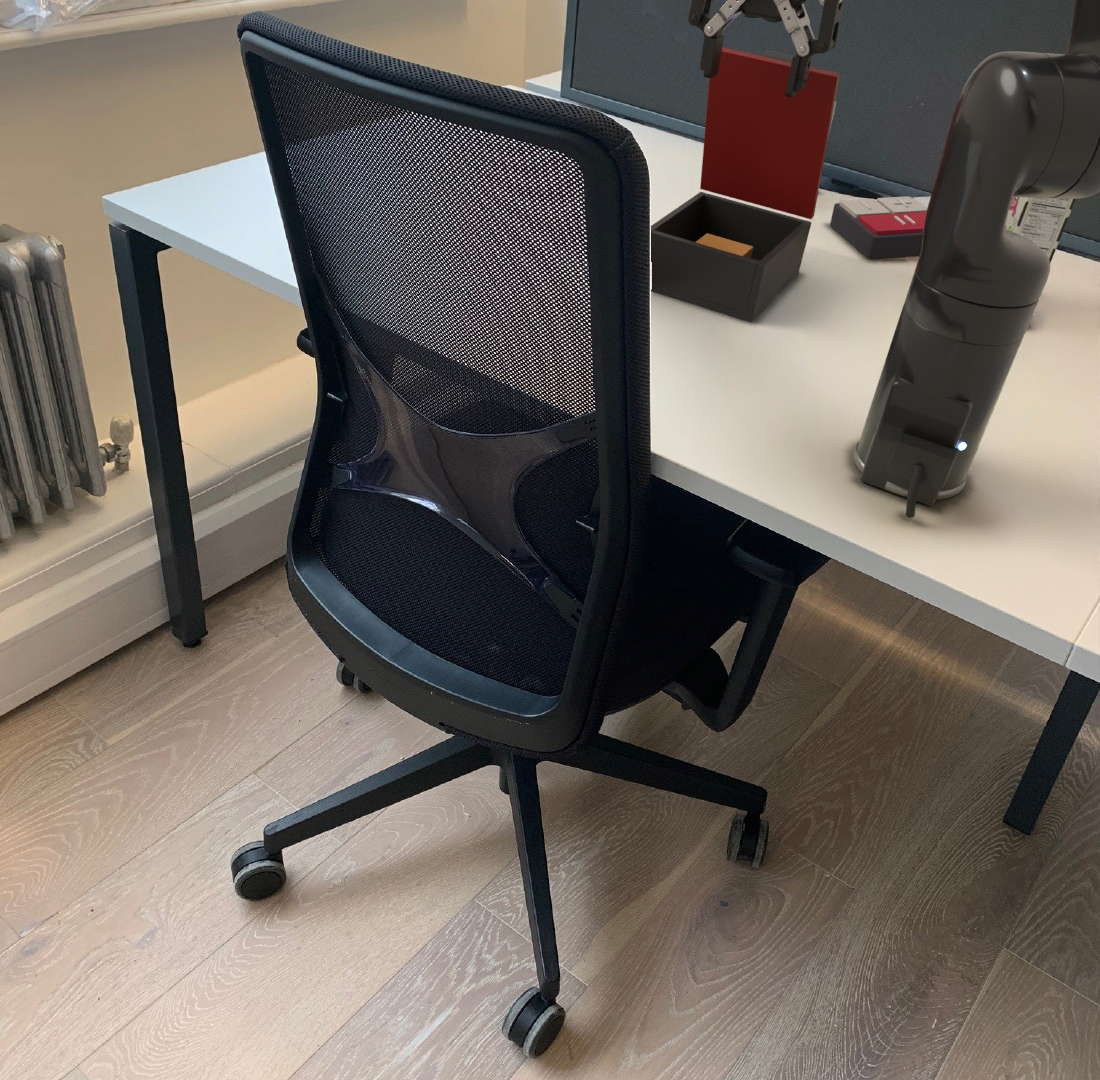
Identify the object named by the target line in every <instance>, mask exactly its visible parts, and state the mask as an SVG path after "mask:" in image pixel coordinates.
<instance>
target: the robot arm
mask: <svg viewBox="0 0 1100 1080" xmlns="http://www.w3.org/2000/svg"><path fill="white" fill-rule="evenodd" d="M806 1H807V0H726V2H725V3H724V4H722V5H721V7H720V8H719V9H718V11H717V12H716V14H715V15H712V14H711V9H712V6H713V0H691V2H690V3H691V4H690V8H689V13H688V18H687V19H688V23H689V25H690V26H692V27H696V28H698V29H699V30H701V31H702V33H703V37H704V38H703V44H702V50H701V55H700V56H701V57H700V61H699V65H700V70H701V71H703V77H704V78H706V79H709V78H710V79H711V78H713V77H715V76H717V74H718V70H719V64H720V59H721V53H722V48H724V41H725V35H723V32H724V31H725V30H726V29H727V27H729V26H730V24H731V23H732V22H734V20H735V19H736V18H738V17H739V16H740V15H741V14H743V15H744V17H745V18H750V19H758V18H761V19H763V20H765V21H766V22H769V23H774V24H776V23H779V22H780V23H781V22H782V23H783V25H784V28H785V30H786V32H787V34H788V35H789V36H790V38H791V40H792V43H793V45H794V49H795V51H796V54H794V55H792V56H793V59H792V63H791V68H790V73H789V77H788V82H787V86H786V91H785V96H787V97H792V98H793V97H794V96H796V95H797V94H798V92H800V91H802V90H803V89H804V87H805V86H806V84H807V79H808V75H809V70H810V66H811V62H812V63H813V58H814V56H815V55H817V54H826V53H827V52H829V51H832V50H833V49H834V48H835V47H836V46H837V43H838V38H839V32H840V28H841V22H842V17H843V11H844V5H845V0H818V3H819V5H820V6H822V11H821V18H820V24H819V30H818V35H817V37H815V35H814V32H813V30H812V27H811V20H810V17H809V15H808V12H807V9H806V6H805V4H804V3H805V2H806ZM945 137H946V138H945V141H944V145H943V149H942V153H941V157H940V160H939V165H938V168H937V172H936V176H935V180H934V184H933V187H932V191H931V194H930V196H929V197H930V201H929V204H928V208H927V212H926V216H925V221H924V229H923V239H922V247H921V252H920V256H919V257H918V259H917V262H916V265H915V269H914V272H913V275H912V278H911V281H910V284H909V287H908V290H907V293H906V296H905V300H904V303H903V306H902V309H901V310H900V311H901V312H900V315H899V317H898V320H897V324H896V327H895V329H894V333H893V336H892V339H891V342H890V345H889V348H888V351H887V354H886V357H885V361H884V363H883V366H882V370H881V373H880V376H879V378H878V382H877V385H876V388H875V391H874V394H873V397H872V401H871V403H870V406H869V410H868V412H867V416H866V419H865V423H864V426H863V428H862V431H861V434H860V437H859V440H858V442H857V443H856V446H855V449H854V452H853V461H854V464H855V467H857V469H858V471H859V472H860V473H861V474H860V477H859V480H860V481H861V482H862V483H865V484H868V485H871V486H874V487H876V488H879V489H882V490H885V491H888V492H889V493H893V494H896V495H898V496H901V497H905V498H907V499H906V506H905V516H906V517H907V518H910V519H911V518H914V517H915V514H916V507H917V502H918V503H921V504H924V505H927V506H930V507H932V506H934V504H935V502H936V501H937V500H938V501H939V500H945V499H949V498H952V497H954V496H956V495H958V494H959V493H960V492H962V491H963V489H964V487H965V485H966V482H967V480H968V476H969V471H970V469H971V466H972V465H973V462H974V459H975V457H976V456H977V452H978V450H979V447H980V445H981V442H982V441H983V437H984V435H985V432H986V430H987V427H988V425H989V423H990V420H991V417H992V415H993V412H994V411H995V408H996V405H997V403H998V400H999V398H1000V396H1001V394H1002V391H1003V389H1004V386H1005V384H1006V381H1007V378H1008V376H1009V373H1010V372H1011V371H1010V370H1011V368H1012V366H1013V365H1014V361H1015V359H1016V356H1017V355H1018V352H1019V349H1020V347H1021V344H1022V342H1023V339H1024V337H1025V335H1026V332H1027V331H1028V328H1029V326H1030V323H1031V321H1032V318H1033V316H1034V314H1035V311H1036V309H1037V306H1038V303H1039V302H1040V299H1041V296H1042V294H1043V291H1044V289H1045V286H1046V284H1047V282H1048V278H1049V275H1050V272H1051V263H1050V261H1049V258H1048V256H1047V255H1046V253H1045V252H1044V251H1043V250H1042V249H1041V248H1040V247H1038V246H1037V245H1036V244H1034V243H1033V242H1031V241H1030V240H1028V239H1026V238H1024V237H1022V236H1020V235H1018V234H1017V233H1014V232H1012V231H1010V230H1008V229H1006V228H1005V224H1006V219H1007V215H1008V211H1009V207H1010V204H1011V201H1012V198H1013V197H1031V198H1060V199H1076V200H1078V199H1086V198H1090V197H1092V196H1094V195H1097V194H1098V193H1100V0H1073V8H1072V17H1071V23H1070V30H1069V34H1068V41H1067V45H1066V50H1065V53H1063V54H1062V53H1050V52H1034V51H1033V52H1032V51H1020V50H1019V51H1017V50H1016V51H1009V50H1008V51H999V52H996V53H993V54H990V55H989V56H987V57H986V58H985V59H984V60H982V61H981V62H980V63H979V64H978V65H977V66H976V67H975V68H974V70H973V71H972V72H971V74H970V75H969V77H968V78H967V80H966V82H965V84H964V85H963V88H962V90H961V92H960V94H959V97H958V99H957V102H956V104H955V107H954V109H953V113H952V116H951V119H950V123H949V126H948V130H947V134H946V136H945Z"/></svg>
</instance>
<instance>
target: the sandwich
mask: <svg viewBox="0 0 1100 1080" xmlns="http://www.w3.org/2000/svg"><path fill="white" fill-rule="evenodd" d="M696 243H699V244H703V245H706V246H709V247H713V248H716V249H720V250H723V251H726V252H730V253H733V254H737V255H740V256H744V257H747V258H750V259H751V256H752V252H753V246H749V245H746V244H742V243H739V242H736V241H732V240H729V239H725V238H722V237H718V236H715V235H711V234H708V233H707V234H706V235H704V236H703V237H702V238H700V239H699V240H698V241H696Z"/></svg>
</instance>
